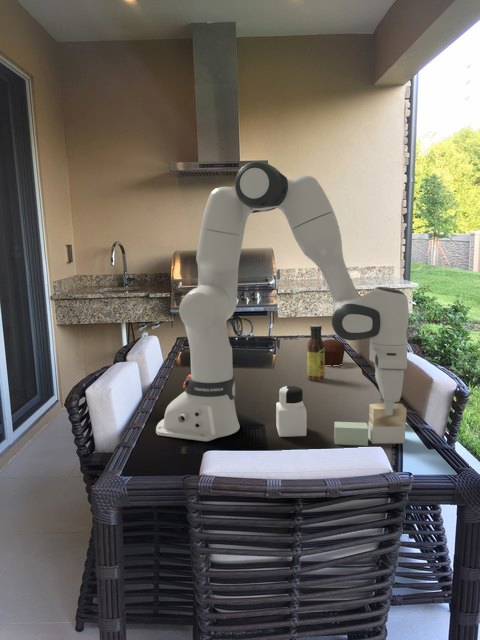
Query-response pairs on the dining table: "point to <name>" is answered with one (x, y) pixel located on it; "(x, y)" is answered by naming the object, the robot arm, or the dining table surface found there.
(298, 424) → the medicine bottle
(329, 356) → the muffin
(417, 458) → the dining table surface
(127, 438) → the dining table surface
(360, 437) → the sage block
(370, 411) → the maple block
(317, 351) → the sauce bottle
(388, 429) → the grey block
